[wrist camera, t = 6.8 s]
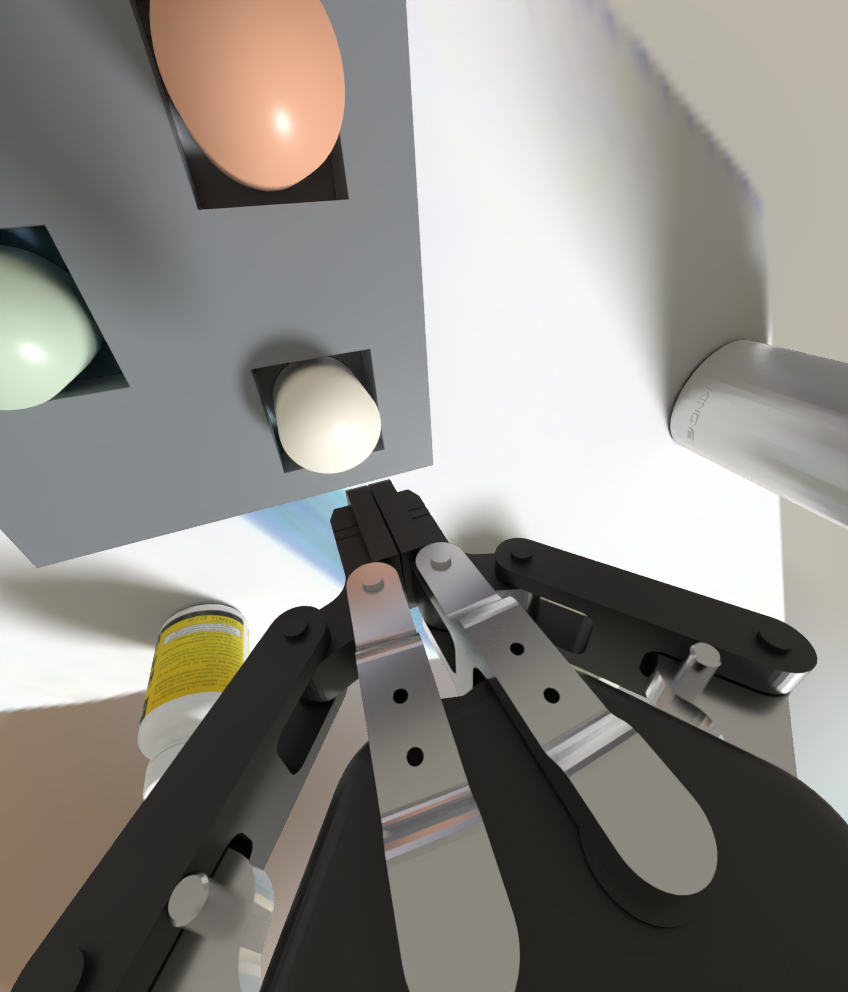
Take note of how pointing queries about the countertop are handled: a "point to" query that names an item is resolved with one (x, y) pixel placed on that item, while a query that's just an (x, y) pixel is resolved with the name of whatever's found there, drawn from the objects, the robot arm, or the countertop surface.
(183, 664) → the supplement bottle
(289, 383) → the cream piece
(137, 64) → the panel
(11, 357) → the sage button
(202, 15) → the terracotta button
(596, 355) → the countertop surface
